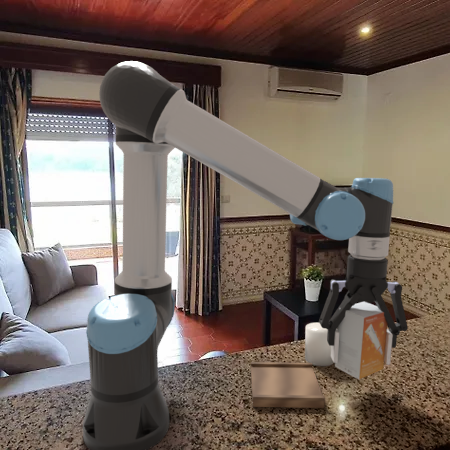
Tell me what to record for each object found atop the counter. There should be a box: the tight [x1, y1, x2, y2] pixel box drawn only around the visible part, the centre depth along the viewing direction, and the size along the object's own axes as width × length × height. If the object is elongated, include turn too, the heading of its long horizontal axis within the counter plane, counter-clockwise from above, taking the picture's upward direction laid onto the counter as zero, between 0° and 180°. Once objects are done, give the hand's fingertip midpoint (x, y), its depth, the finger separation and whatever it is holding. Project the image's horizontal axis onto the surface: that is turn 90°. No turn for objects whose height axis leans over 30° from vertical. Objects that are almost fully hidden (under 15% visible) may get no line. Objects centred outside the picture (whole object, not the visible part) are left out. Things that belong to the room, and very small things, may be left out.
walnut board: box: [250, 361, 326, 409], centre depth 84 cm, size 14×14×2 cm
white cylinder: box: [304, 322, 335, 367], centre depth 97 cm, size 7×9×8 cm
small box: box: [334, 301, 390, 381], centre depth 81 cm, size 8×6×13 cm
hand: (359, 360), depth 82 cm, fingers closed on small box, 10 cm apart
